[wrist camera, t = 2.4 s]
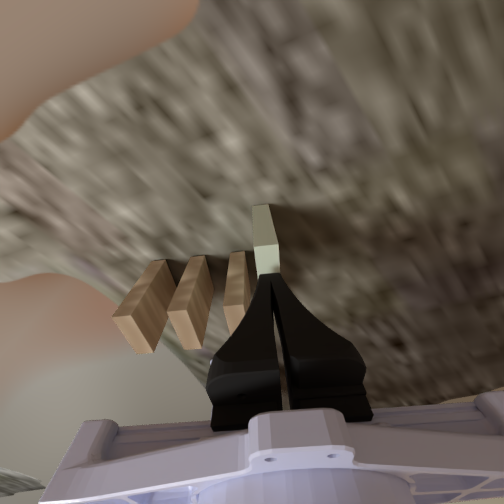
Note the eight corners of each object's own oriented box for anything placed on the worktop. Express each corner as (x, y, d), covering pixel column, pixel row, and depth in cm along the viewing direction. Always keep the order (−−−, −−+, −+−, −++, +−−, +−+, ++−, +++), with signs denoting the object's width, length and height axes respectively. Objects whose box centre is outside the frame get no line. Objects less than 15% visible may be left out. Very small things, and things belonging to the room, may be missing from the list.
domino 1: (165, 259, 23) (130, 315, 16) (178, 292, 26) (153, 352, 19) (151, 261, 23) (111, 317, 16) (166, 294, 26) (136, 354, 19)
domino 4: (268, 204, 20) (278, 244, 13) (271, 248, 23) (281, 300, 16) (251, 206, 20) (253, 246, 13) (257, 249, 23) (261, 302, 16)
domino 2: (204, 255, 23) (186, 309, 16) (214, 289, 26) (201, 348, 19) (190, 256, 23) (166, 311, 16) (201, 290, 26) (184, 349, 19)
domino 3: (244, 251, 23) (243, 304, 16) (250, 285, 25) (251, 344, 19) (230, 252, 23) (222, 306, 16) (237, 286, 25) (233, 345, 19)
